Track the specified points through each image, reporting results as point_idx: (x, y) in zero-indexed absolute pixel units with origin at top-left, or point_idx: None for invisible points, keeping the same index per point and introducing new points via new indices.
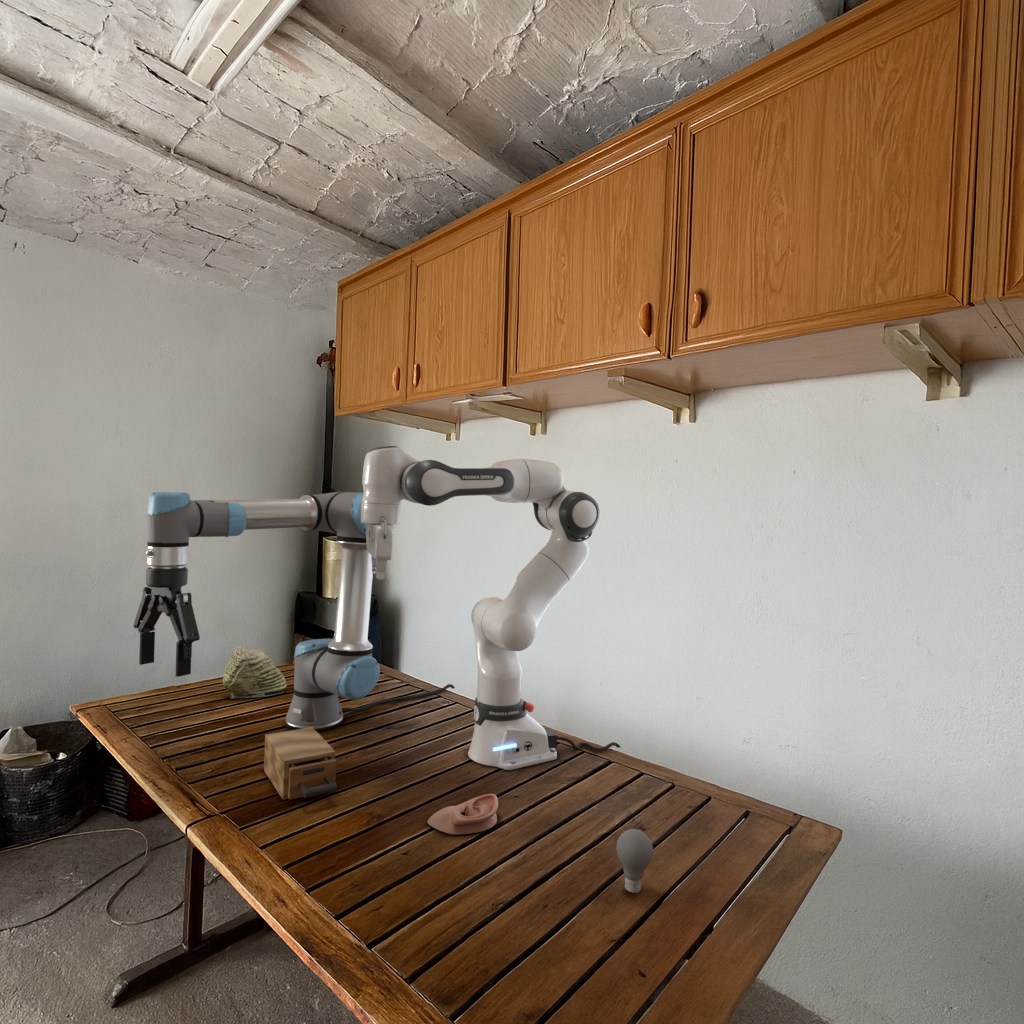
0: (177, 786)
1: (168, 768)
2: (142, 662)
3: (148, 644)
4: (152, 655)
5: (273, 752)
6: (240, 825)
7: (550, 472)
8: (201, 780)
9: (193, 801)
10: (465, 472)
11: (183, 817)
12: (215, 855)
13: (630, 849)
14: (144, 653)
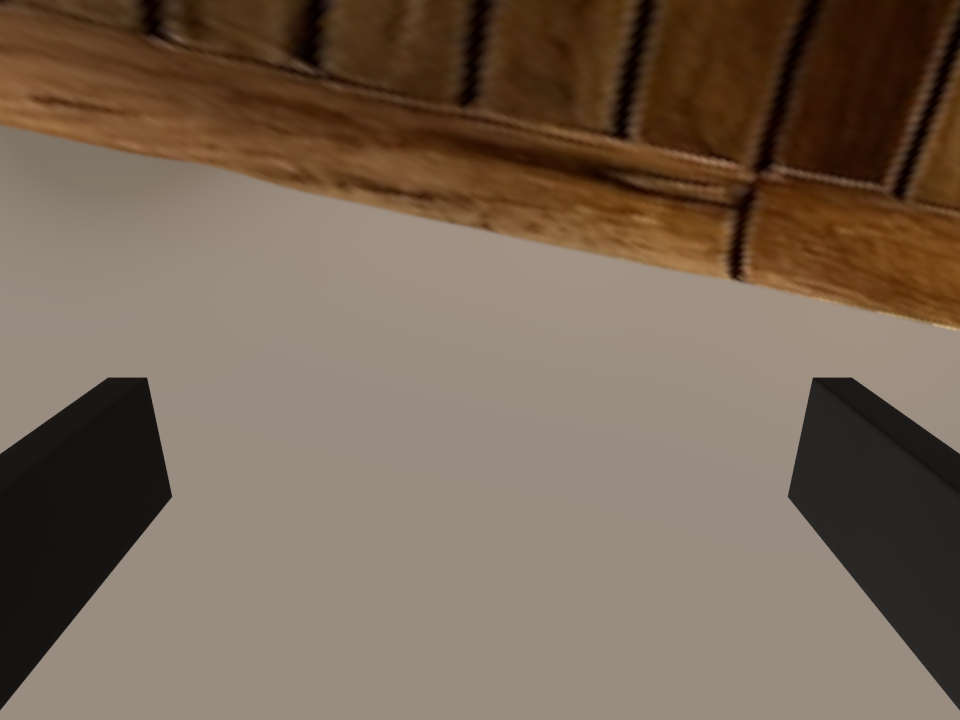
0: (457, 147)
1: (274, 77)
2: (158, 496)
3: (18, 573)
4: (106, 432)
5: None
6: (880, 180)
7: None
8: (479, 57)
9: (609, 179)
10: None
11: (678, 260)
12: (935, 323)
13: None
14: (106, 542)
